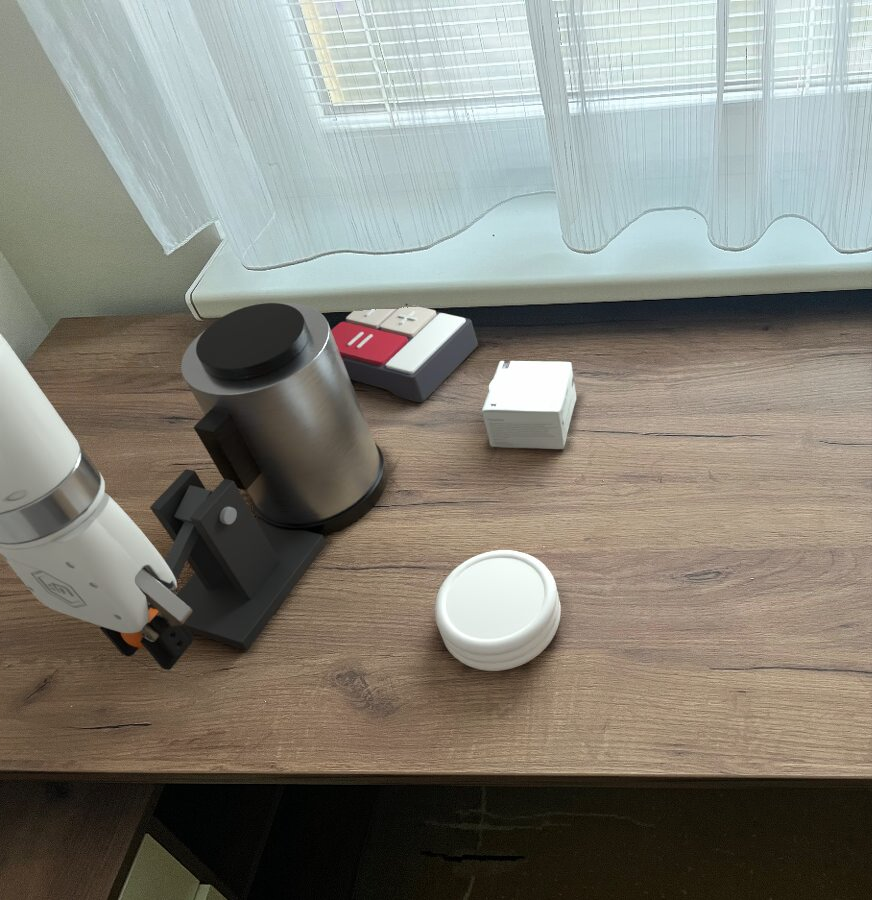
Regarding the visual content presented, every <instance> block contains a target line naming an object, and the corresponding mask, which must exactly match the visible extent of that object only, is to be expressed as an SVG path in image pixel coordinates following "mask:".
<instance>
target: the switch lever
mask: <svg viewBox="0 0 872 900" xmlns="http://www.w3.org/2000/svg"><path fill="white" fill-rule="evenodd" d="M212 492H213V490H211V489H207V488H206V489H203V488H199V487H195V486H191V485H190V486H189V487H188V489H187V491H186V493H185V495H184V497H183V499H182V501H181V503H180V505H179V507H178V509H177V511H176V513H175V515H174V517H176V518H178V519H180V520H181V521H183V522H184V523H183V525H182V527H181V529H180V531H179V534H178V536H177V538H176V540H175V542H173V544H172V546H171V547H170V549H169V552H168V553H167V556H166V557H165V559H164V560H165V562H166V563H167V565H168V566H169V568H170V570H171V571H172V573H173V575H174V577H175V579H176V582H178V579H179V577H180V575H181V573H182V571H183V569H184V567H185V565H186V563H187V559H188V557H189V555H190V553H191V550H192V548H193V546H194V544H195V542H196V540H197V538H198V536H199V534H200V533H199V532H198V530H197V529H196V527H195V526H194V524H193V523H192V521H191V520H190V517H191V515H192V514H193V513H194V512H195V511H196V510H197V509H198V508H199V506H200V505H201V504H202V503H203V502H204V501H205V500H206V499H207V498H208V496H209V495H210V494H211V493H212ZM170 591H171V592H172V591H173V590H170ZM148 612H149V622H150V621H151V620H152V619H153V618H154V616H155V615H156V614H157V613H158V612H159V611H158V610H157V609H155V608H154V607H153V606H152V607H151V608H150V609H149V610H148ZM149 622H148V623H149ZM120 633H121V636H122V638H123V639H124V640H125V641H126V642H127V643H128V644H130V645H132V646H134V647H139V648H145V647H144V646H143V645H142V643H141V642H140V641H141V639H142V637H143V636H142V635H141V634H140V633H139V632H136V633H122V632H120Z"/></svg>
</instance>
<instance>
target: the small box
mask: <svg viewBox="0 0 872 900" xmlns="http://www.w3.org/2000/svg"><path fill="white" fill-rule="evenodd" d="M576 402H577V392H576V385H575V378H574V372H573V365H572V362H569V361H531V360H530V361H526V360H499V362H498V364H497V366H496V370H495V372H494V375H493V379H492V380H491V381H490V383H489V384H488V392H487V395H486V398H485V401H484V403H483V407H482V409H481V414H482V417H483V422H484V426H485V429H486V433H487V437H488V441H489V446H491V447H492V448H513V449H544V450H545V449H546V450H563V449H565V446H566V442H567V437H568V434H569V428H570V424H571V420H572V417H573V412H574V409H575V405H576Z"/></svg>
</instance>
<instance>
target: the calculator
mask: <svg viewBox="0 0 872 900" xmlns="http://www.w3.org/2000/svg"><path fill="white" fill-rule="evenodd" d="M416 306H417V305H416ZM331 332H332V334H333V337H334V340H335V342H336V345H337V347H338V350H339V352H340V355H341V357H342V360H343V363H344V365H345V368H346V370H347V373H348V375H349V378H350V381H351V380H352V381H355V382H359V383H362V384H365V385H370V386H373V387H377V388H380V389H384V390H387V391H388V392H390V394H391V393H392V394H393V395H394V396H395V397H398V398H403V399H406V400H410V401H414V402H417V403H423V402H424V401H426V400H427V399H428V398H429V397H430V395H432V394H433V393H434V392H435V391H436V389H437V388H438V387H440V385H442V383H443V382H444V381H445V380H446V379H447V378H448V377H449V376H450V375H451V374H452V373H453V372H454V371H455V370H456V369H457V368H458V367H459V366H460V365H461V364H462V363H463V362H464V361H465V360H466V359H467V358H468V357H469V356H470V354H471V353H473V352H474V350H475V349H476V348H477V347H478V346H479V343H478V339H477V335H476V332H475V329H474V326H473V322H472V320H471V319H470V318H467V317H463V316H457V315H455V314H454V315H453V314H448V313H445V312H440V311H436V310H435V309H432V308H431V309H430V308H427V307H421V306H417V307H408V308H407V307H404V308H403V307H402V308H399V309H376V310H375V309H371V310H363V311H354V310H353V311H351V313H349V314H348V315H347V316H346V317H345V320H344V321H341V322H339V323H337V324H336V325H335V326H334V327H333V328H332V329H331Z"/></svg>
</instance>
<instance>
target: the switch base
mask: <svg viewBox="0 0 872 900" xmlns="http://www.w3.org/2000/svg"><path fill="white" fill-rule="evenodd" d="M190 485H191V486H195V487H199V488H203V489H207V488H206V486H205V485H204V483H203V481H202V480H201V478H200V477H199V475H198V474H197V472H196V471H195V470H191V469H187V468H186V469H184V470H183V471H182V472H181V473H180V474H179V476H178V477H176V479H175V480H174V481H173V482H172V483H171V484H170V485H169V486H168V487H167V488H166V489H165V490H164V491H163V493H161V495H159V496H158V497H157V499H156V500H155V501H154V502H153V503H152V504H151V505H150V506H149V509H150V510H151V511H152V513H153V514H154V516H155V517H156V519H157V520H158V521H159V523H160V524H161V526H162V527H163V529H164V530H165V532H166V533H167V534H168V536H169V537H170V538H171V540H172V541H173V543H174V542H175V540H176V538H177V536H178V534H179V531H180V529H181V527H182V525H183V523H184V522H183V521H181V520H180V519H178V518H176V517H174V515H175V513H176V511H177V509H178V507H179V505H180V503H181V501H182V499H183V497H184V495H185V493H186V491H187V489H188V487H189V486H190ZM190 520H191V521H192V523H193V524H194V526H195V527H196V529H197V530H198V532H199V533H200V534H199V536H198V538H197V540H196V542H195V544H194V546H193V548H192V550H191V553H190V555H189V557H188V559H187V561H186V563H188V565H189V566H190V568H191V569H192V570H193V572H194V573H193V574H192V575H191V577H190V578H189V579H188V580H187V581H186V583H184V585H183V586H182V588H180V590H179V591H178V592H177V593H176V594H175V595H176V596H177V597H178V598H180V599H181V600H182V601H183V602H184V603H186V604H187V605H188V606H189V607H190V608H191V609H192V610H193V613H192V614H191V615H190V616H189V618H188V619H187V620H186V621H185V623H184V624H185V625H186V627H187V628H188V629H189V631H190V632H191V633H192V634H195V635H198V636H200V637H204V638H206V639H210V640H213V641H216V642H219V643H222V644H226V645H229V646H231V647H235V648H238V649H241V650H243V651H248V650H249V649H250V648H251V646H252V645H253V643H254V642H255V641H256V639H257V638H258V637H259V636H260V634H261V633H262V631H263V630H264V628H265V627H266V626H267V624H268V623H269V622H270V620H271V619H272V618H273V617H274V615H275V614H276V612H277V611H278V609H279V608H280V607H281V605H282V604H283V603H284V601H286V598H287V597H288V596H289V595H290V593H291V592H292V591H293V590H294V588H295V587H296V585H297V584H298V582H299V581H300V580H301V579H302V577H303V576H304V574H305V573H306V571H307V570H308V569H309V568H310V566H311V565H312V564H313V562H314V561H315V560H316V558H317V557H318V556H319V554H320V553H321V551H322V550H323V549H324V547H325V546H326V544H327V541H326V540H325V537H324V535H320V534H316V533H312V532H308V531H305V530H286V529H281V528H277V527H274V526H272V525H270V524H268V523H266V522H265V521H263V520H262V519H259V517H255V515H254V514H253V512H252V511H251V509H250V507H249V505H248V503H247V502H246V500H245V498H244V496H243V495H242V493H241V491H240V489H238V488H237V486H236V484H235V482H234V481H232V480H228V479H222V481H221V482H220V483H219V484H218V485H217V486H216V488H214V490H212V493H211V494H210V495H209V496H208V498H207V499H206V500H205V501H204V502H203V503H202V504H201V505H200V506H199V508H198V509H197V510H196V511H195V512H194V513H193V514H192V515H191V517H190Z"/></svg>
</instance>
